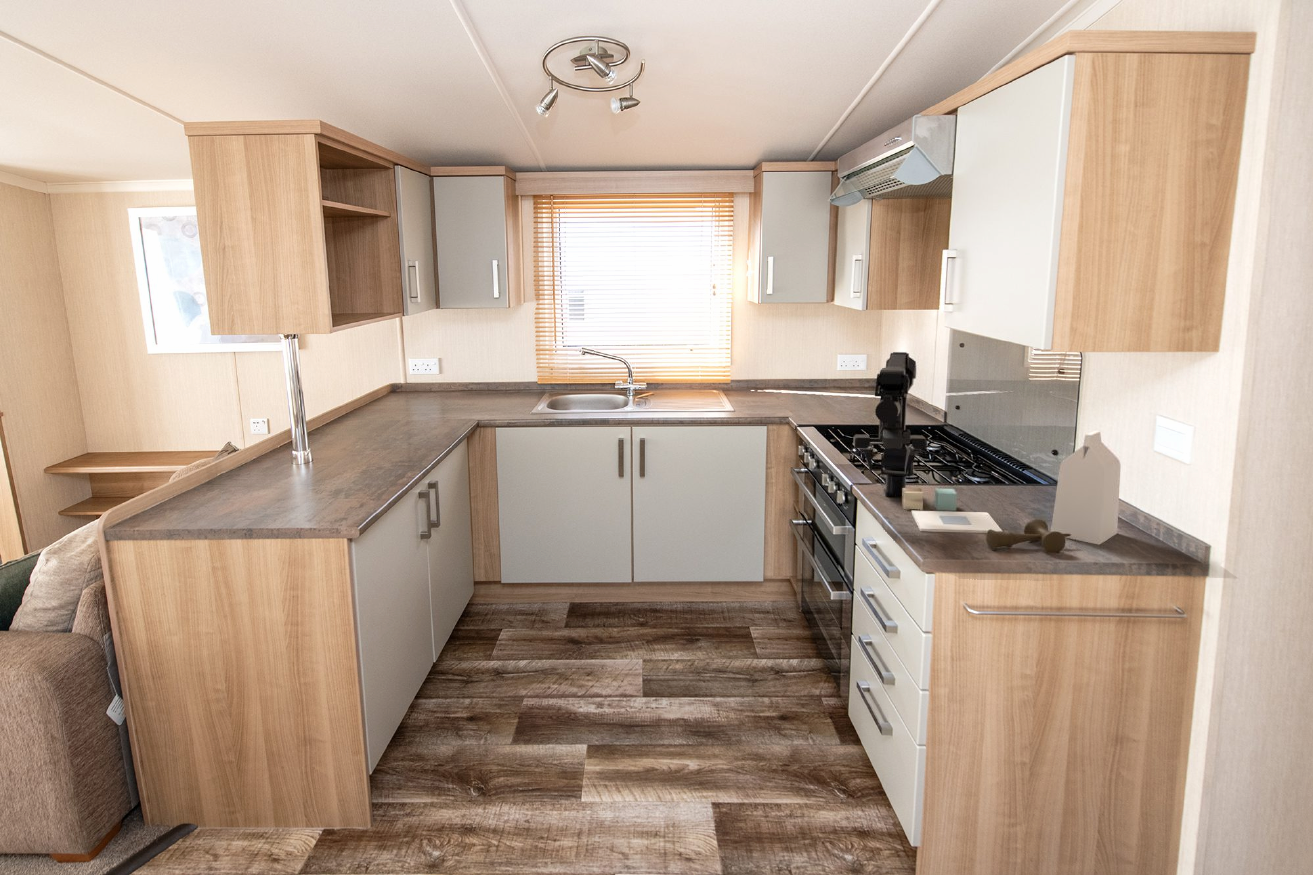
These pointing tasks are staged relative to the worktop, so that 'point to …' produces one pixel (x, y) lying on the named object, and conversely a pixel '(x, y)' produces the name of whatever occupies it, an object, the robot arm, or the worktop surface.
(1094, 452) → the milk
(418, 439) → the worktop surface
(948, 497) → the teal block
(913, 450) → the robot arm
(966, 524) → the baseplate
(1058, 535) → the kendama
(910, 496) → the birch block
